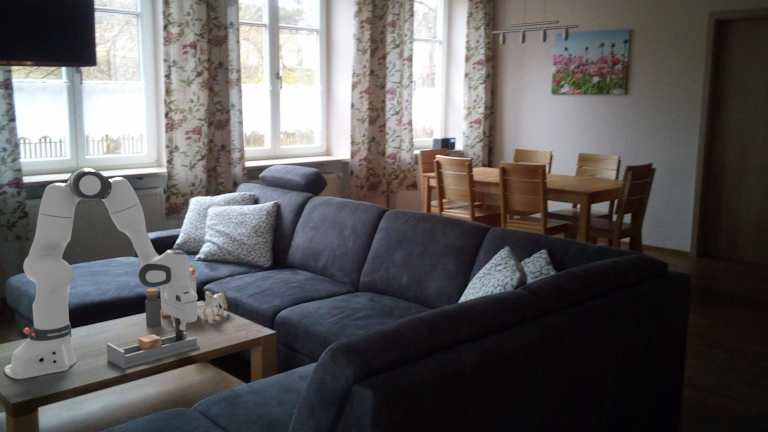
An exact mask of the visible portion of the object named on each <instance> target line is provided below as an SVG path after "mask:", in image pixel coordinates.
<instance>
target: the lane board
mask: <svg viewBox="0 0 768 432" xmlns="http://www.w3.org/2000/svg"><path fill="white" fill-rule="evenodd" d="M187 337H188V335H187V332H184V340H182V341H178V342H174V343H170V344H166V345H163V346H159V347H155V348H151V349H147V350H143V351H140V352H139V343H137V344H134V345H130V346H125V347H122V348H120V347H118V346H116V345H114V344H112V343H110V342H108V343H106V355H107V361H110V362H111V363H113V364H115V365H116V366H118V367H119V368H122V369H126V368H129V367H130V368H131V367H133V366H138V365H141V364H142V365H143V364H144V363H148V362H153V361H155V360H159V359H164V358H167V357H171V356H175V355H178V354H182V353H185V352H189V351H192V350H197V349H200V346H201V345H199V344H198V338H197V337H196V336H194V337H190V338H187ZM160 338H161V344H162V343H166V342H170V341H174V340H176V334H174V335H169V336H165V337H160Z"/></svg>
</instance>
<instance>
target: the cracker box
mask: <svg viewBox="0 0 768 432" xmlns="http://www.w3.org/2000/svg"><path fill="white" fill-rule="evenodd" d="M189 268H190V274H189V281H190V288H192V290H193V291H194V292H195V293H196V294H197V276H196V275H197V274H196V267H189ZM165 289H166V285H161V286H159V290H160V293H159V295H160V306H161V318H163V317H164V318H165V317H166V318H171V315H169V314H167V313H165V312H163V311H162V295H163V294H164V290H165ZM197 300H198V299H197ZM197 300H195V301H196V303H197V304H198V302H197Z"/></svg>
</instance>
